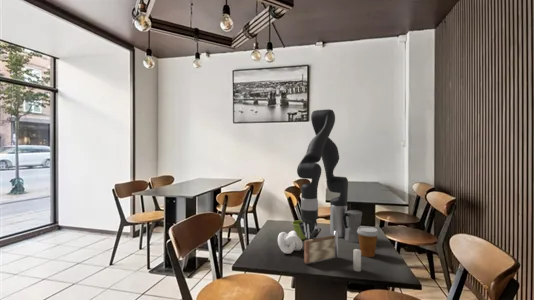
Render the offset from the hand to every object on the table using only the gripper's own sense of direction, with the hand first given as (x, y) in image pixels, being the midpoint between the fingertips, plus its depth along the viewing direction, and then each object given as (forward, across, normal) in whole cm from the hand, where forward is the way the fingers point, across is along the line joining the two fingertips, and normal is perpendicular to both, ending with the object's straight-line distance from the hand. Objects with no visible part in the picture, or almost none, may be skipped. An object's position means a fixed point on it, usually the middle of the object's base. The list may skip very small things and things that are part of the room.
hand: (309, 245), depth 130 cm
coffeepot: (+7, -8, +36) cm, 38 cm away
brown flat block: (+5, +4, +3) cm, 7 cm away
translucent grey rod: (+6, +4, +12) cm, 14 cm away
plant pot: (+7, -25, +15) cm, 30 cm away
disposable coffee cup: (+7, +10, +27) cm, 29 cm away
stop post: (+6, +18, +10) cm, 22 cm away
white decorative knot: (+7, -13, -2) cm, 15 cm away
